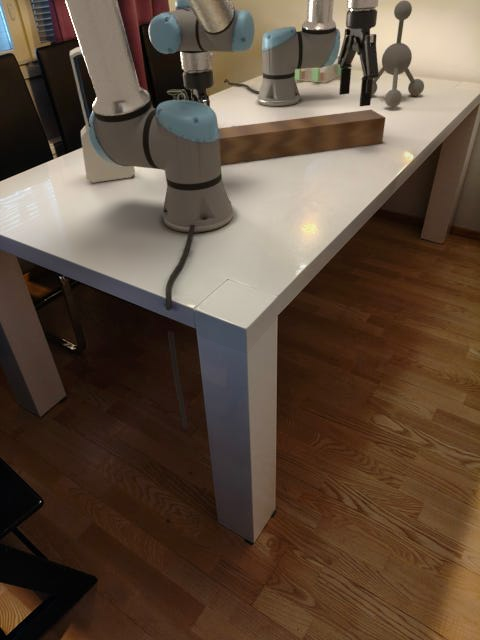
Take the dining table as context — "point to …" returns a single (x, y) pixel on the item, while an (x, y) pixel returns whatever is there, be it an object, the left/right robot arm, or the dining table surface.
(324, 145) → the wide beam
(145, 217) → the dining table surface
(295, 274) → the dining table surface
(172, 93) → the grenade
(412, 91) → the molecular model
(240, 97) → the dining table surface
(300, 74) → the decorative block
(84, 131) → the electronic device
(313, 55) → the right robot arm
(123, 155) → the left robot arm
